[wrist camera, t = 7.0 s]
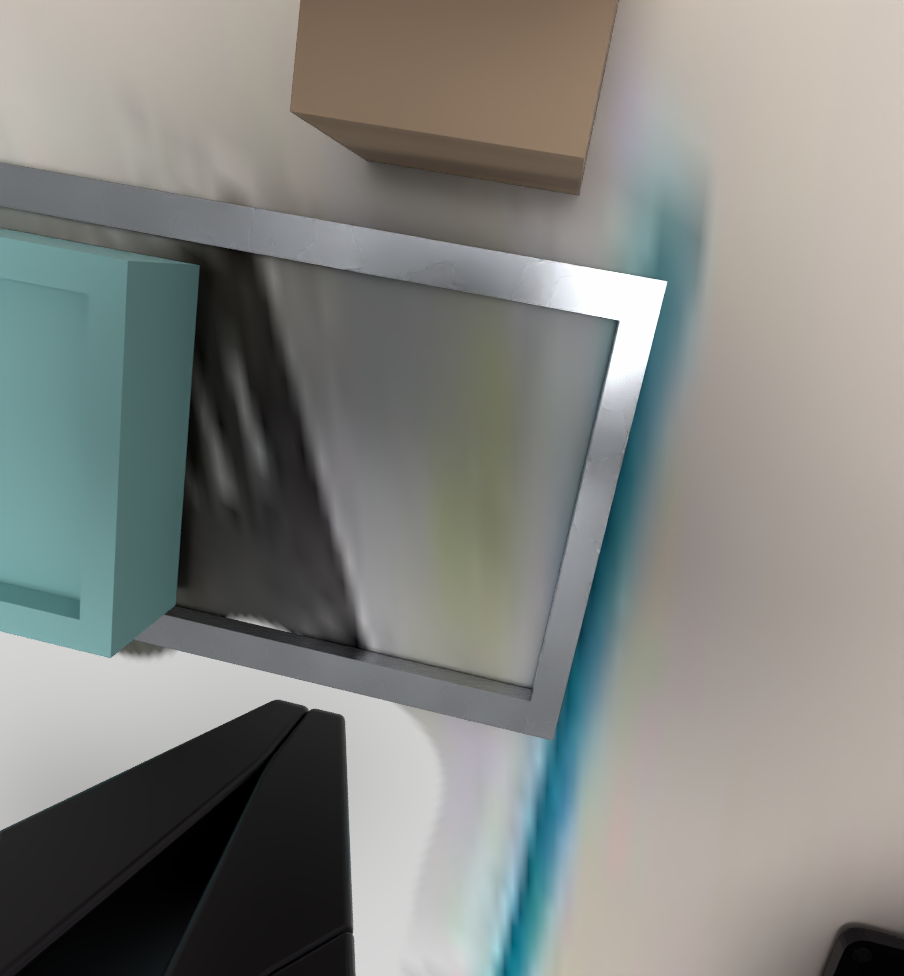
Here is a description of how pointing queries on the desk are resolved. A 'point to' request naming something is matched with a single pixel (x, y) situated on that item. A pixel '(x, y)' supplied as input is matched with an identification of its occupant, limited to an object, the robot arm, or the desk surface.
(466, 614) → the desk surface
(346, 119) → the walnut block
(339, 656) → the gray metal rectangular frame
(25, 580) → the teal square tray
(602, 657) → the desk surface
